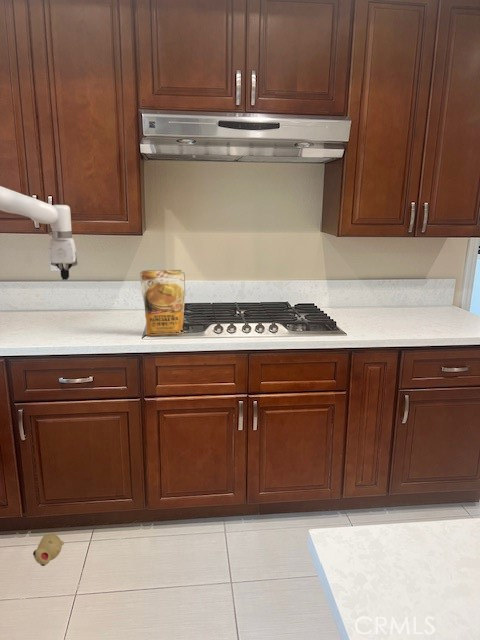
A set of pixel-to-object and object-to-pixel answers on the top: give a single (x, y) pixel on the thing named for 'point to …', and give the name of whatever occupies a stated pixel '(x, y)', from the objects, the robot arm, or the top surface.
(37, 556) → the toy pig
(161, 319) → the pancake mix bag
